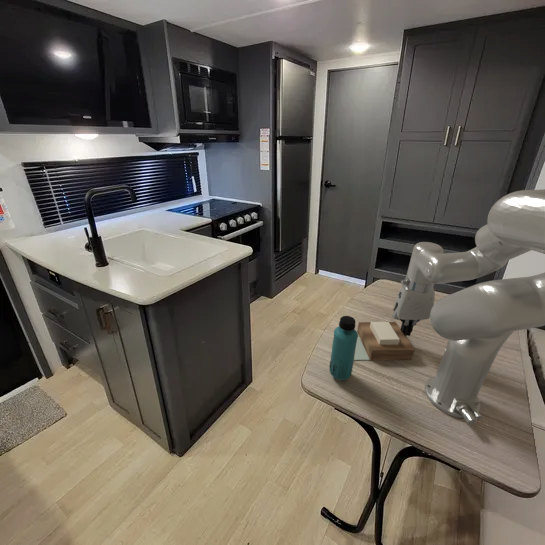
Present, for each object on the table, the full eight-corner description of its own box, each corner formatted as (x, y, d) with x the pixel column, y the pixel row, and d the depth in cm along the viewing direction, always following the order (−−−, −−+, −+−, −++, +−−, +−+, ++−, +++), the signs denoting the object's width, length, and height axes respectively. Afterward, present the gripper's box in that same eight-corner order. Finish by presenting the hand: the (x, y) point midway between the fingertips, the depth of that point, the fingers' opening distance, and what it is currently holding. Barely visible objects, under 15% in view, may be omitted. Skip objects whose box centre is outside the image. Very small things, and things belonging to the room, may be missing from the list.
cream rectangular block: (398, 344, 89) (399, 339, 88) (379, 344, 89) (380, 339, 88) (387, 326, 97) (388, 321, 96) (369, 326, 97) (370, 321, 96)
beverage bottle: (355, 376, 82) (366, 319, 73) (342, 388, 78) (351, 330, 69) (336, 363, 87) (344, 308, 78) (323, 375, 83) (330, 318, 74)
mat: (369, 360, 88) (369, 359, 88) (346, 360, 88) (347, 359, 88) (358, 337, 98) (359, 336, 98) (338, 337, 98) (338, 336, 98)
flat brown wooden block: (411, 359, 88) (414, 349, 87) (370, 360, 88) (372, 350, 86) (393, 331, 101) (395, 322, 99) (357, 331, 101) (358, 322, 99)
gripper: (399, 290, 81) (386, 340, 89) (451, 290, 81) (434, 340, 89) (389, 277, 88) (378, 326, 96) (437, 277, 88) (422, 326, 96)
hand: (405, 333), depth 93 cm, fingers closed
